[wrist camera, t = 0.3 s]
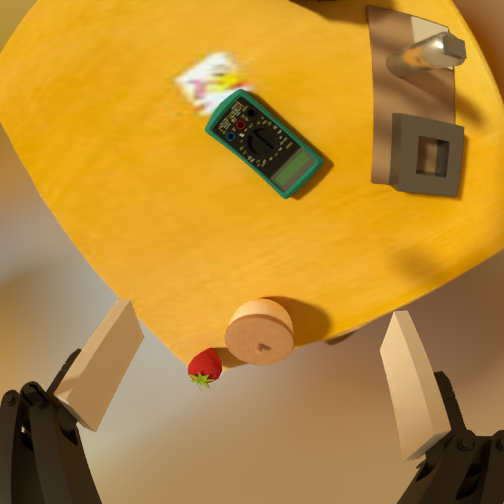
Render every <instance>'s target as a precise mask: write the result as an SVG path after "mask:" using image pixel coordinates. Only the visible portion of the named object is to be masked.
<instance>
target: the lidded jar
mask: <svg viewBox="0 0 504 504" xmlns="http://www.w3.org/2000/svg"><path fill="white" fill-rule="evenodd" d="M225 344H226V346H227V348H228V350H229V351H230V352H231V353H232V354H233V355H234V356H235V357H236V358H238V359H240V360H242V361H244V362H247V363H250V364H255V365H270V364H275V363H278V362H280V361H282V360H284V359H285V358H287V357H288V356H289V355H290V354H291V352H292V351H293V348H294V332H293V325H292V321H291V318H290V316H289V314H288V312H287V311H286V310H285V309H284V308H283V307H282V306H281V305H280V304H278V303H277V302H275V301H272V300H270V299H265V298H260V299H253V300H250V301H248V302H246V303H244V304H242V305H241V306H240V307H239V308H238V309H237V310H236V311H235V313H234V314H233V316H232V318H231V320H230V323H229V326H228V328H227V330H226V334H225Z"/></svg>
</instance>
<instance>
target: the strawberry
mask: <svg viewBox="0 0 504 504" xmlns="http://www.w3.org/2000/svg"><path fill="white" fill-rule="evenodd" d="M221 372H222V364H221V360H220V359H219V357H218V356H217V354H216V353H215V352H214V351H213V349H211V348H209V349H206V350H205V351H203V352H201V353H200V354H198V355H197V356H195V357H194V358H193V360H192V361H191V362H190V364H189V366H188V374H189V375H190V377H191V378H192V379H193V380H192V381H191V382H196V383H199V382H200V384H201V385H205V386H206V387H208V388H209V385H208V384H207V383H210V382H213V381H215V380H216V379H218V378H219V376H220V374H221ZM200 390H201V389H200Z"/></svg>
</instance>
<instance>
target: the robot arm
mask: <svg viewBox="0 0 504 504" xmlns="http://www.w3.org/2000/svg"><path fill="white" fill-rule="evenodd" d="M143 339H144V335H143V333H142V330H141V328H140V325H139V322H138V320H137V317H136V314H135V311H134V308H133V306H132V303H131V300H128V299H120V298H119V299H118V300H117V302H116V303H115V304H114V306H113V307H112V308H111V310H110V311H109V312H108V314H107V315H106V316H105V318H104V319H103V321H102V322H101V323H100V325H99V326H98V327H97V329H96V330H95V332H94V333H93V335H92V336H91V337H90V339H89V340H88V342H87V343H86V345H85V346H84V348H83V349H82V350H81V349H77V350H76V351H75V352H73V353H72V354H71V355H70V356H69V358H68V359H67V361H66V362H65V364H64V365H63V367H62V368H61V370H60V371H59V373H58V374H57V376H56V377H55V379H54V381H53V382H52V384H51V385H50V387H49V388H48V390H47V391H46V392H45V391H44V390H43V389H42V387H41V386H40V385H39V384H38V383H37V382H34V381H32V382H28V383H26V384H25V385H24V386H23V387H22V389H21V390H20V394H19V393H18V392H17V391H16V390H9V391H8V392H6V393H5V395H4V396H3V398H2V401H1V406H0V504H102V502H101V500H100V497H99V495H98V492H97V489H96V487H95V484H94V481H93V479H92V476H91V473H90V470H89V467H88V464H87V460H86V457H85V453H84V450H83V446H82V442H81V439H80V435H79V430H78V428H77V426H76V423H77V421H78V422H79V423H80V424H81V425H82V426H83V427H85V428H87V429H90V430H92V431H94V432H96V431H97V429H98V427H99V425H100V422H101V420H102V418H103V416H104V414H105V412H106V410H107V408H108V406H109V404H110V402H111V400H112V398H113V396H114V394H115V392H116V390H117V388H118V386H119V384H120V382H121V380H122V378H123V376H124V374H125V372H126V370H127V368H128V366H129V365H130V362H131V361H132V359H133V357H134V355H135V353H136V351H137V349H138V348H139V346H140V344H141V342H142V340H143ZM380 353H381V356H382V360H383V364H384V367H385V372H386V376H387V380H388V384H389V388H390V393H391V397H392V402H393V406H394V411H395V416H396V422H397V427H398V432H399V438H400V444H401V450H402V457H403V462H405V461H409V460H414V459H418V458H420V457H421V456H422V455H423V454H425V455H426V459H425V460H424V461H422V462H421V463H420V464H419V465H418V466H417V467H416V468H417V469H418V468H419V467H420V469H419V471H418V472H417V474H416V476H415V477H414V479H413V480H412V482H411V483H410V485H409V486H408V488H407V490H406V491H405V492H404V494H403V495H402V497H401V498H400V500H399V501H398V502H397V504H503V502H504V430H499V431H498V432H496V433H495V434H494V435H493V436H475V434H474V433H473V432H472V431H470V430H467V429H466V427H465V424H464V421H463V418H462V415H461V412H460V409H459V406H458V403H457V400H456V399H455V394H454V391H453V390H452V389H453V388H452V386H451V383H450V380H449V379H448V377H447V376H446V375H445V374H444V373H443V372H442V371H441V372H435V373H433V371H432V368H431V366H430V363H429V360H428V358H427V355H426V353H425V350H424V348H423V345H422V343H421V340H420V338H419V336H418V333H417V331H416V329H415V327H414V324H413V322H412V320H411V317H410V315H409V313H408V311H394V313H393V316H392V319H391V322H390V324H389V327H388V330H387V333H386V336H385V338H384V341H383V343H382V346H381V348H380ZM22 427H23V428H24V429H25V430H24V433H23V432H21V430H22Z"/></svg>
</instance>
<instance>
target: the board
mask: <svg viewBox="0 0 504 504" xmlns="http://www.w3.org/2000/svg"><path fill="white" fill-rule="evenodd" d="M366 10H367V17H368V25H369V34H370V44H371V55H372V71H373V99H374V128H373V157H372V174H371V182H372V183H381V184H389V174H390V161H391V143H392V113H403V114H409V115H414V116H420V117H425V118H429V119H434V120H438V121H443V122H447V123H451V124H454V119H455V96H454V74H453V70H449V69H446V68H441V69H435V70H430V71H425V72H421V73H416V74H412V75H408V76H403V77H397V76H395V75H393V74H392V73H390V71H389V70H388V68H387V66H386V59H387V57H388V56H389V55H391V54H393V53H395V52H397V51H399V50H401V49H403V48H405V47H408V46H410V45H412V44H414V35H413V28H412V21H411V17H412V16H413V15H410V14H406V13H402V12H398V11H394V10H390V9H385V8H381V7H376V6H370V5H367V6H366ZM413 17H416V18H420V17H417V16H413ZM420 19H423V18H420ZM423 20H426V21H429V22H432V23H435V24H438V23H436V22H433V21H430V20H427V19H423ZM438 25H441V24H438ZM441 26H444V25H441ZM444 27H446V28H448V27H447V26H444ZM448 32H449V30H448ZM452 67H453V66H452ZM437 141H438V139H434V138H429V137H424V136H419V140H418V156H417V168H416V170H424V171H431V172H435V166H436V155H437Z"/></svg>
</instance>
